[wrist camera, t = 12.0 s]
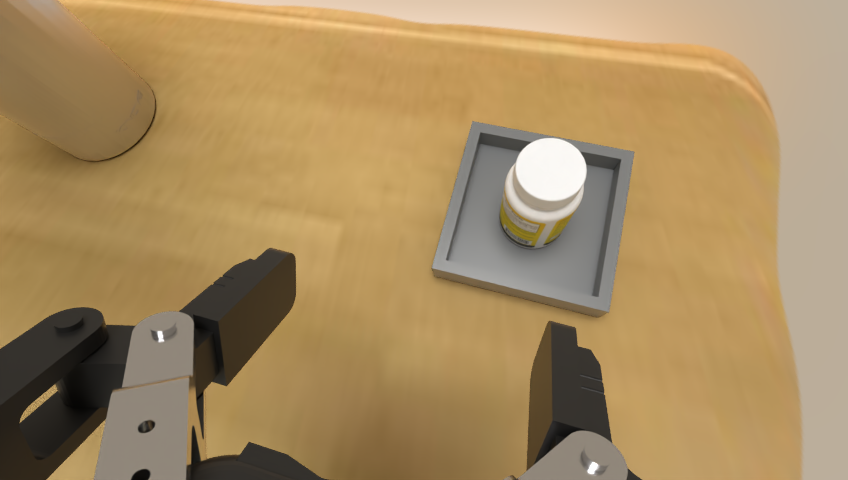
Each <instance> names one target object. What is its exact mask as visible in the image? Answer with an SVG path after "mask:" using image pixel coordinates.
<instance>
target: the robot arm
mask: <svg viewBox="0 0 848 480" xmlns="http://www.w3.org/2000/svg"><path fill="white" fill-rule="evenodd" d="M154 110H155V98H154V95H153V92H152V90H151V88H150V87H149V86H148V84H147V83H146V82H145V81H144V80H143V79H142V78H141V77H139V76H138V75H137V74H136V73H135V72H134V71H133V70H132V69H131V68H130V67H129V66H128V65H126V64H125V63H124V62H123V61H122V60H121V59H120V58H119V57H118V56H117V55H116V54H115V53H114V52H113V51H112V50H111V49H110V48H108V47H107V46H106V45H105V44H104V43H103V42H102V41H101V40H100V39H99V38H98V37H97V36H96V35H94V34H93V33H92V32H91V31H90V30H89V29H88V28H87V27H86V26H85V25H84V24H83V23H82V22H80V21H79V20H78V19H77V18H76V17H75V16H74V15H73V14H72V13H71V12H70V11H69V10H68V9H66V8H65V7H64V6H63V5H62V4H61V3H60V2H59V1H58V0H0V114H1V115H3V116H5V117H6V118H8V119H10V120H12V121H13V122H15V123H17V124H19V125H20V126H22V127H24V128H26V129H27V130H29V131H31V132H32V133H34V134H36V135H37V136H39V137H41V138H43V139H45V140H46V141H48V142H50V143H52V144H53V145H55V146H57V147H59V148H61V149H62V150H64V151H66V152H68V153H69V154H71V155H73V156H75V157H77V158H79V159H83V160H87V161H99V160H104V159H109V158H111V157H114V156H117V155H119V154H121V153H123V152H124V151H126V150H128V149H129V148H130V147H132V146H133V145H134V144H135V143H137V142H138V140H139V139H140V138H141V137H142V136H143V135H144V134H145V132H146V130H147V129H148V127H149V126H150V124H151V121H152V118H153V116H154ZM295 297H296V260H295V256H294V254H292V253H289V252H285V251H281V250H277V249H273V248H269V249H267V250H266V251H265V252H264V253H262V254H261V255H260V256H259V257H258V258H257V259H256V260H253V259H249V260H246V261H244V262H242V263H239V264H237V265H235V266H233V267H232V268H231V269H230V270H228V271H227V272H226V273H225V274H224V275H223V277H220V278H219V279H218V280H216V281H215V282H214V284H213V285H210V286H209V287H208V288H207V289H206V290H204V291H203V292H202V293H201V294H200V295H198V296H197V297H196V298H195V299H194V300H192V301H191V302H190V303H189V304H188V305H186V306H185V307H184V308H183V309H182V310H180V311H179V312H175V311H169V312H162V313H158V314H154V315H152V316H149V317H147V318H145V319H144V320H142V321H141V322H139V323H138V324H137V325H136V326H123V325H106V324H105V321H104V317H103V315H102V313H101V312H100V311H98V310H96V309H93V308H86V307H81V308H72V309H67V310H64V311H60V312H58V313H55V314H53V315H51V316H49V317H47V318H46V319H44V320H43V321H41V322H40V323H38V324H37V325H35V326H34V327H32V328H31V329H29V330H28V331H26V332H25V333H23V334H22V335H21V336H19V337H18V338H16V339H15V340H13V341H12V342H10V343H9V344H7V345H6V346H4V347H3V348H1V349H0V480H46V479H47V478H48V477H49V476H50V475H51V474H52V473H53V472H54V471H55V470H56V469H57V468H58V467H59V466H60V465H61V464H62V463H63V462H64V461H65V460H66V459H67V458H68V457H69V456H70V455H71V454H72V453H73V452H74V451H75V450H76V449H77V448H78V447H79V446H80V445H81V444H82V443H83V442H84V441H85V440H86V439H87V437H88V436H89V435H90V434H91V433H92V432H93V431H94V430H95V429H96V428H97V427H98V426H99V425H100V424H101V423H102V422H103V421H104V420H105V419H106V422H105V427H104V432H103V437H102V442H101V447H100V452H99V457H98V462H97V466H96V471H95V476H94V480H327V479H323V478H321V477H319V476H318V475H316V474H315V473H313V472H312V471H310V470H309V469H307V468H306V467H305V466H303V465H302V464H300V463H299V462H297V461H296V460H294V459H293V458H291V457H290V456H289V455H287V454H284V453H281V452H278V451H275V450H272V449H269V448H266V447H263V446H260V445H257V444H254V443H251V442H249V443H248V444H247V445H246V447H245V448H244V450H243V451H242V453H241V454H240V455H224V456H218V457H213V458H209V459H207V455H206V395H205V389H206V387H207V386H208V385H209V384H210V383H211V382H215V383H218V384H221V385H224V386H227V385H228V384H229V383H230V382H231V380H232V379H233V378H234V377H235V376H236V375H237V373H238V372H239V371H240V370H241V369H242V367H243V366H244V365H245V364H246V363H247V361H248V360H249V359H250V358H251V357H252V355H253V354H254V353H255V352H256V351H257V350H258V348H259V347H260V346H261V345H262V344H263V342H264V341H265V340H266V339H267V338H268V336H269V335H270V334H271V333H272V332H273V331H274V329H275V328H276V327H277V326H278V325H279V323H280V322H281V321H282V320H283V319H284V317H285V316H286V315H287V314H288V313H289V311H290V310H291V308H292V306H293V304H294V301H295ZM54 384H55V385H56V387H57V390H58V391H57V392H56V393H55V394H54V395H52V396H51V397H50V398H49V399H48V400H47V401H45V402H44V403H43V404H42V405H41V406H39V407H38V408H37V409H36V410H35V411H34V412H32V413H31V414H30V415H29V416H28V417H27V418H25V419H24V420H23V421H22V422H21V423H19V422H20V418H21V416H22V414H23V412H24V411H25V409H26V408H27V407H28V406H29V405H30V404H31V403H33V402H34V401H35V400H36V399H37V398H39V397H40V396H41V395H42V394H43V393H45V392H46V391H47V390H48V389H49V388H51V387H52V386H53V385H54ZM503 480H642V479H640V478H639V477H637V476H636V475H635V474H633V473H632V472H631V471H630V470H629V469H628V468H627V464H626V461H625V459H624V457H623V456H622V454H621V452H620V451H619V450H618V449H617V448H616V446H614V445H613V444H612V440H611V433H610V427H609V420H608V414H607V407H606V400H605V395H604V387H603V383H602V374H601V367H600V364H599V362H598V361H597V359H596V358H595V356H594V354H593V353H592V351H591V350H589V349H586V348H582V347H578V345H577V334H576V328H575V327H571V326H567V325H564V324H560V323H556V322H552V321H549V322H548V324H547V326H546V328H545V331H544V334H543V337H542V340H541V342H540V345H539V348H538V351H537V354H536V356H535V359H534V363H533V367H532V372H531V379H530V402H529V426H528V450H527V471H526V472H525V473H524V474H523V475H522V476H520V477H519V478H517V479H516V478H515V477H514V476H512V475H511V476H508V477H506V478H505V479H503Z"/></svg>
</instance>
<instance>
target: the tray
mask: <svg viewBox="0 0 848 480" xmlns="http://www.w3.org/2000/svg"><path fill="white" fill-rule="evenodd" d="M544 138H557V139H561V140H564V141H566V142H568V143H570V144H572V145H573V146H574V147H576V148H577V149H578V150H579V151H580V153H581V154H582V156H583V158H584V160H585V163H586V168H587V174H586V179H585V182H584V192H583V197H582V200H581V202H580V204H579V206H578V207H577V209H576V211H575V212H574V214H573V215H572V217H571V219H570V220H569V222H568V223H567V225H566V226H565V228H564V230H563V231H562V233H561V234H560V236H559V237H558V238H557V239H556V240H555V241H554V242H552V243H551V244H549V245H547V246H545V247H541V248H536V249H529V248H524V247H521V246H518V245H516V244H514V243H513V242H512V241H510V240H509V239H508V238H507V237H506V235H505V234H504V232H503V230H502V228H501V225H500V220H499V215H500V208H501V203H502V197H503V192H504V186H505V181H506V177H507V175H508V172H509V170H510V169H511V167H512V166H513V165H514V164H515V163H516V160H517V158H518V156H519V154H520V152H521V151H522V150H523V149H524V148H525V147H526V146H527V145H528V144H530V143H532V142H534V141H536V140H539V139H544ZM633 157H634V152H633V151H628V150H623V149H617V148H612V147H607V146H601V145H596V144H591V143H585V142H580V141H575V140H569V139H564V138H559V137H553V136H548V135H543V134H537V133H532V132H527V131H521V130H516V129H511V128H505V127H500V126H495V125H489V124H484V123H479V122H474V121H473V122H472V125H471V129H470V132H469V136H468V140H467V143H466V147H465V150H464V154H463V158H462V161H461V165H460V168H459V172H458V175H457V179H456V183H455V186H454V190H453V193H452V197H451V201H450V204H449V208H448V211H447V215H446V219H445V222H444V226H443V229H442V233H441V236H440V240H439V244H438V247H437V251H436V254H435V258H434V262H433V265H432V271H433V274H434V276H436V277H440V278H444V279H448V280H452V281H456V282H460V283H464V284H468V285H472V286H476V287H480V288H483V289H487V290H491V291H495V292H499V293H503V294H507V295H511V296H515V297H519V298H523V299H527V300H531V301H535V302H539V303H543V304H547V305H551V306H555V307H559V308H563V309H567V310H571V311H575V312H579V313H583V314H587V315H591V316H595V317H600V316H602V315H604V314H606V313H608V312H609V309H610V303H611V297H612V290H613V284H614V278H615V271H616V265H617V259H618V252H619V246H620V240H621V233H622V227H623V221H624V214H625V208H626V202H627V195H628V189H629V183H630V176H631V170H632V164H633Z"/></svg>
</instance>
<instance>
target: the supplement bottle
mask: <svg viewBox="0 0 848 480" xmlns="http://www.w3.org/2000/svg"><path fill="white" fill-rule="evenodd" d="M586 174H587V168H586V163H585V160H584V158H583V156H582V154H581V153H580V151H579V150H578V149H577V148H576V147H574V146H573V145H572V144H570V143H568V142H566V141H564V140H561V139H557V138H544V139H539V140H536V141H534V142H532V143H530V144H528V145H527V146H526V147H525V148H524V149H523V150H522V151H521V152H520V154H519V156H518V158H517V160H516V163H515V164H514V165H513V166H512V167H511V169H510V170H509V172H508V175H507V177H506V181H505V186H504V192H503V197H502V203H501V208H500V215H499V220H500V225H501V228H502V230H503V232H504V234H505V235H506V237H507V238H508V239H509V240H510V241H512V242H513V243H514V244H516V245H518V246H521V247H524V248H529V249H536V248H541V247H545V246H547V245H549V244H551V243H552V242H554V241H555V240H556V239H557V238H558V237H559V236H560V234H561V233H562V231H563V230H564V228H565V226H566V225H567V223H568V222H569V220H570V219H571V217H572V215H573V214H574V212H575V211H576V209H577V207H578V206H579V204H580V202H581V200H582V197H583V192H584V182H585V179H586Z"/></svg>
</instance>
